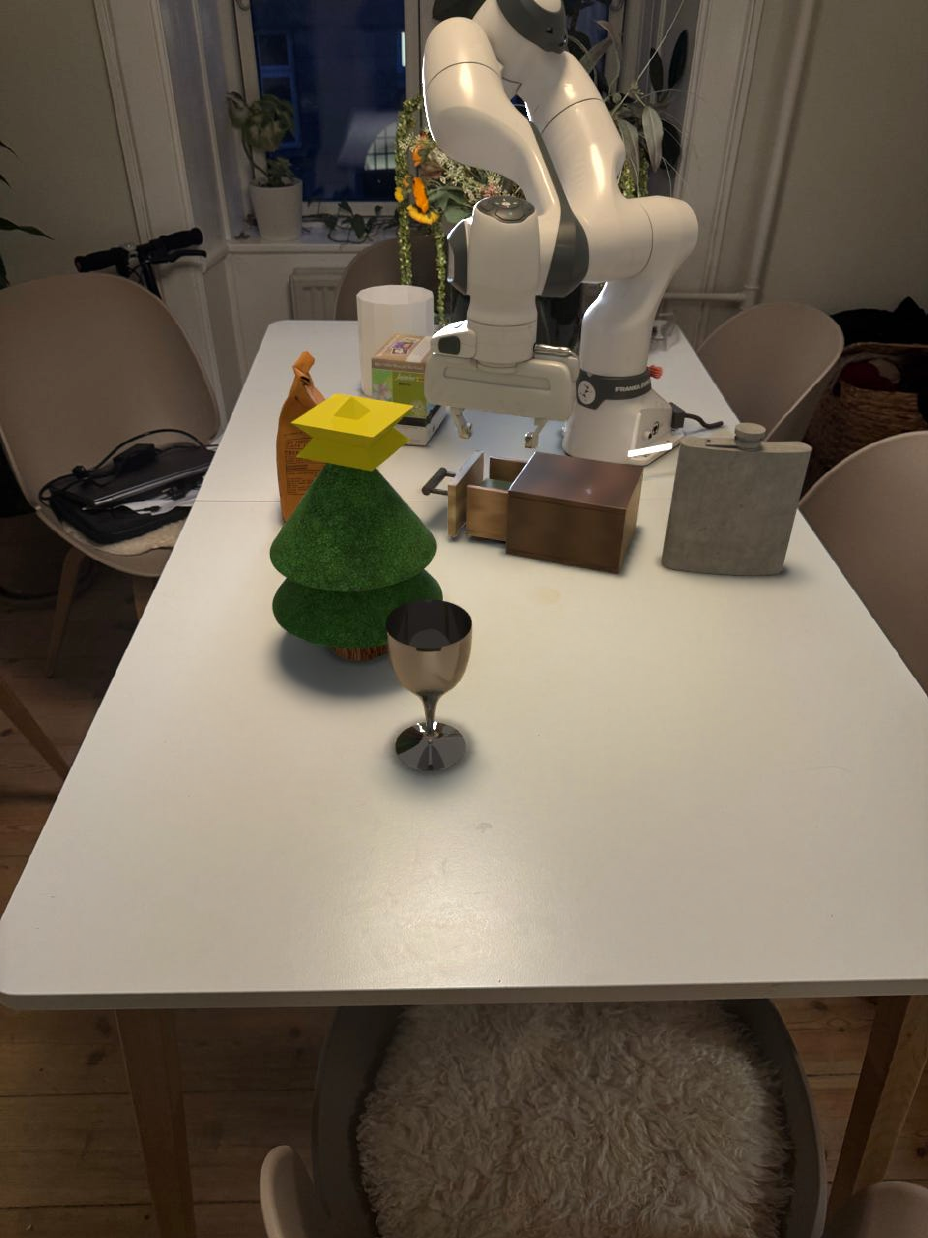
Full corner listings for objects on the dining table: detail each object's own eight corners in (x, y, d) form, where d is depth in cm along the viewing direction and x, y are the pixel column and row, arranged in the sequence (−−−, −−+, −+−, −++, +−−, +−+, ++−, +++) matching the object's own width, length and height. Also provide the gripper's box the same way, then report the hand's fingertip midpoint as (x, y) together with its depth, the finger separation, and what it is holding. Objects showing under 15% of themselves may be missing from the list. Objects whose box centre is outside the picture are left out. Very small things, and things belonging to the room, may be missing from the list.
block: (485, 506, 128) (485, 477, 125) (514, 511, 127) (515, 482, 124) (474, 519, 124) (475, 490, 122) (505, 524, 123) (506, 495, 121)
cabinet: (505, 553, 120) (508, 490, 115) (531, 511, 131) (535, 450, 126) (618, 574, 116) (626, 509, 111) (635, 528, 127) (644, 466, 122)
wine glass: (390, 721, 91) (384, 600, 83) (466, 718, 92) (468, 597, 83) (391, 775, 85) (385, 650, 76) (473, 771, 85) (476, 646, 77)
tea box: (428, 447, 150) (427, 361, 142) (372, 441, 152) (367, 356, 144) (447, 415, 163) (447, 334, 154) (395, 411, 164) (392, 331, 156)
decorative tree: (330, 585, 113) (309, 353, 96) (468, 618, 107) (472, 377, 90) (245, 668, 98) (203, 412, 82) (399, 712, 93) (388, 446, 76)
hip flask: (778, 563, 119) (813, 422, 108) (785, 578, 116) (821, 435, 104) (660, 556, 120) (682, 416, 109) (662, 571, 117) (685, 429, 106)
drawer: (414, 529, 124) (413, 479, 120) (445, 493, 134) (444, 445, 129) (548, 553, 119) (551, 501, 114) (569, 513, 129) (573, 464, 124)
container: (371, 374, 181) (367, 283, 171) (440, 378, 180) (440, 286, 169) (354, 398, 169) (349, 302, 159) (428, 403, 168) (427, 306, 158)
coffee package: (351, 488, 137) (341, 346, 124) (345, 526, 127) (334, 376, 114) (287, 488, 136) (271, 346, 124) (275, 526, 126) (257, 376, 114)
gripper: (587, 341, 111) (577, 444, 119) (435, 324, 117) (436, 423, 124) (575, 356, 106) (566, 462, 114) (418, 337, 112) (420, 440, 120)
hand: (497, 442), depth 119 cm, fingers open, 8 cm apart
